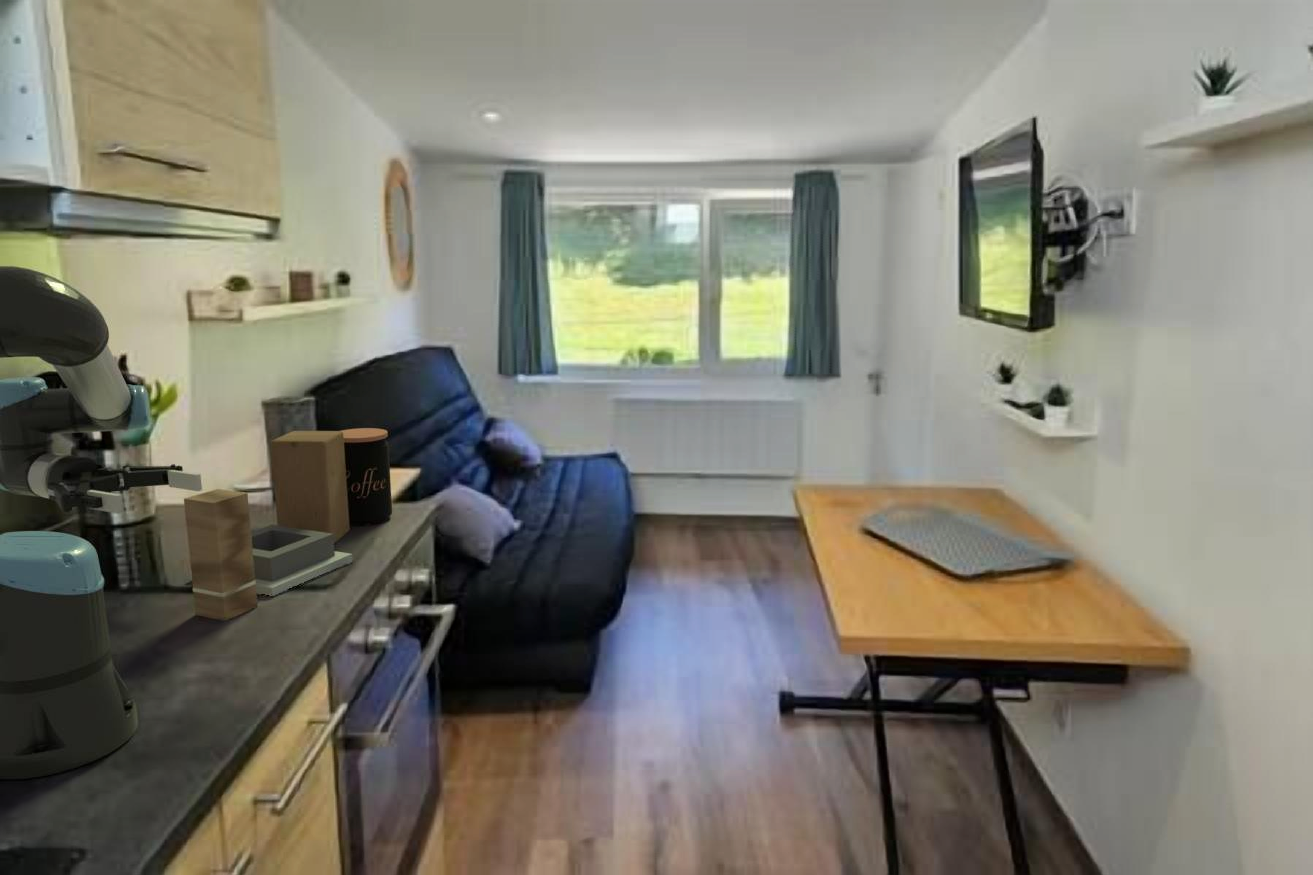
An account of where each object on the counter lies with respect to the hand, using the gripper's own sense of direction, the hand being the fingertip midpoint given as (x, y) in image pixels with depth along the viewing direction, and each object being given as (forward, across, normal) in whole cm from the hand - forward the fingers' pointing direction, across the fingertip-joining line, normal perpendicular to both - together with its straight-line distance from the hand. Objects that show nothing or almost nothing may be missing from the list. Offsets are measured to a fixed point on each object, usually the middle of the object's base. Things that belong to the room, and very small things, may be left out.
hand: (161, 492), depth 138 cm
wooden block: (-2, -32, -18) cm, 37 cm away
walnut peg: (+12, +1, -17) cm, 21 cm away
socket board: (+5, -15, -17) cm, 24 cm away
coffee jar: (-2, -46, -18) cm, 50 cm away
